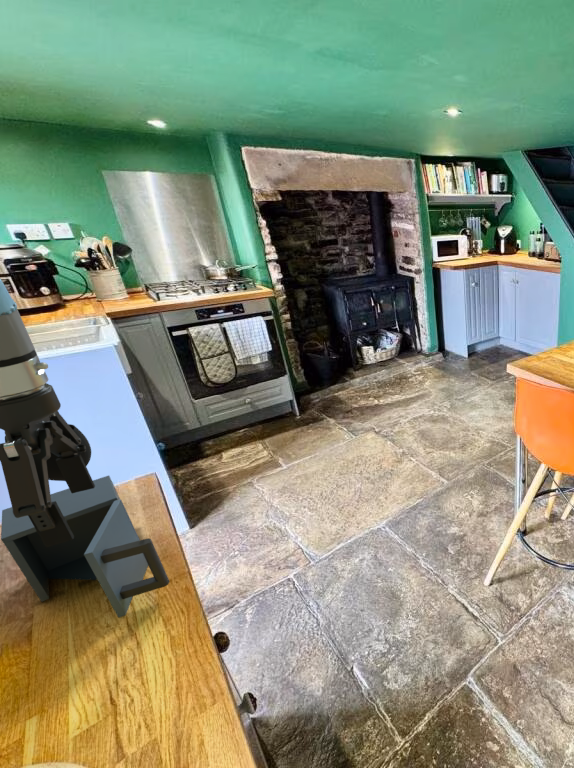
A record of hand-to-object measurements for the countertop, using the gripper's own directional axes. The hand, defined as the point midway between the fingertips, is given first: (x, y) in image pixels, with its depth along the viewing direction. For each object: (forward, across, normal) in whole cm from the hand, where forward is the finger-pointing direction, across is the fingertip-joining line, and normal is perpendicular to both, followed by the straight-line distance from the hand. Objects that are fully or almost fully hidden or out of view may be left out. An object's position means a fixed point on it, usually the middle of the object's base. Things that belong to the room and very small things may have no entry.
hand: (73, 513), depth 63 cm
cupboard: (+22, +14, +6) cm, 27 cm away
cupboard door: (+21, +3, -5) cm, 22 cm away
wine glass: (+22, +39, +12) cm, 47 cm away
